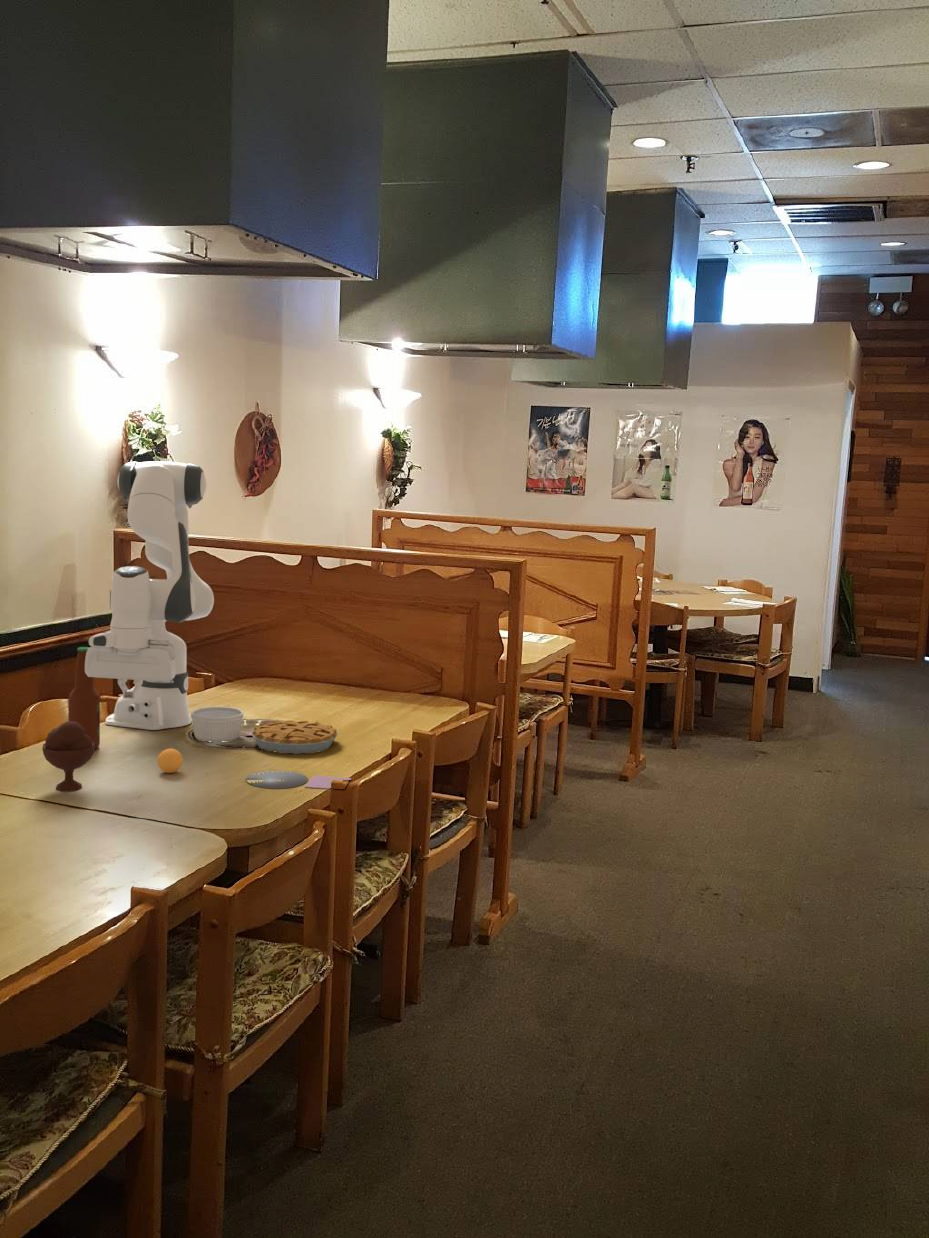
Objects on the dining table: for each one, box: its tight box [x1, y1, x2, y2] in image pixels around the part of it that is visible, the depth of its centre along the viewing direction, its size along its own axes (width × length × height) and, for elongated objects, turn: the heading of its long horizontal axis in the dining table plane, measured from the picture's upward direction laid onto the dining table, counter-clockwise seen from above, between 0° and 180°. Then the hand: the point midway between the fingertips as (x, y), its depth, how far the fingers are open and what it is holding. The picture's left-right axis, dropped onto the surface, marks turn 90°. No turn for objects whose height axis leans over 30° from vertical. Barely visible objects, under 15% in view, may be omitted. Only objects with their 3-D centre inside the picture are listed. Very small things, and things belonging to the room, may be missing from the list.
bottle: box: [67, 646, 101, 750], centre depth 271 cm, size 7×7×25 cm
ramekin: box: [190, 706, 244, 743], centre depth 288 cm, size 13×13×7 cm
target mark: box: [245, 770, 309, 790], centre depth 254 cm, size 14×14×1 cm
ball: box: [157, 748, 184, 774], centre depth 255 cm, size 6×6×6 cm
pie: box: [251, 720, 338, 755], centre depth 285 cm, size 22×22×5 cm
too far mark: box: [304, 775, 352, 790], centre depth 253 cm, size 9×9×1 cm
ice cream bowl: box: [41, 721, 95, 792], centre depth 239 cm, size 11×11×15 cm
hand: (130, 698), depth 253 cm, fingers closed
